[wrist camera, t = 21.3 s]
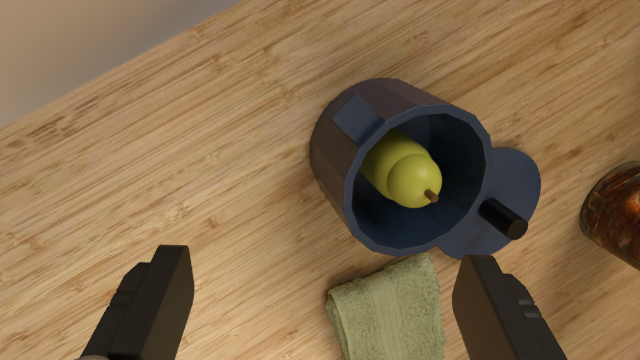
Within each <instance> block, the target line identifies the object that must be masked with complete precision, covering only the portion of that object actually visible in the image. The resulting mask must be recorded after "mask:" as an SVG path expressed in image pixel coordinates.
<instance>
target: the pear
mask: <svg viewBox="0 0 640 360" xmlns="http://www.w3.org/2000/svg"><path fill="white" fill-rule="evenodd" d="M359 171H360V172H361V173H362V174H363V175H364V176H365V177H366V179H367V180H368V181H369V182H370V183H371V184H372V185H373V186H374V187H375V188H376V189H377V190H378V191H379V192H380V193H381V194H382V195H383V196H385V197H387V198H388V199H391V200H394V201H396V202H397V203H399V204H400V205H402V206H405V207H409V208H419V207H423V206H425V205H427V204H429V203H431V202H433V203H435V202H437V201H438V199H439V198H438V196H437V195H438V194H439V192H440V189H441V185H442V176H441V172H440V170H439V168H438V166H437V165H436V163H435V162H434V161H433V160H432V159H431V156H430V154H429V153H428V152H427V150H426V149H425V148H424V147H422V146H421V145H420V144H418V143H417V142H415V141H414V140H413V139H411V138H410V137H408V136H407V135H405V134H404V133H402V132H401V131H400V130H398V129H397V128H395V127H393V128H391V129H389V131H388V132H387V133H386V134H385V135H384V136H383V137H382V138H381V139H380V140H379V141H378V142H377V143H376V144H375V145H374V146H373V147H372V148H371V149H370V150H369V151H368V152H367V153H366V156H365V158H364V160H363V162H362V164H361V166H360V168H359Z"/></svg>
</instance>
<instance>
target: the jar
mask: <svg viewBox="0 0 640 360" xmlns="http://www.w3.org/2000/svg"><path fill="white" fill-rule="evenodd" d="M580 223H581V229H582V231H583V233H584V234H585V236H586V237H588V238H589V239H590V240H592V241H593V242H595V243H596V244H598V245H599V246H601V247H602V248H604V249H606V250H607V251H609V252H610V253H612V254H613V255H615V256H616V257H618V258H620V259H621V260H623V261H624V262H626V263H627V264H629V265H631V266H632V267H634V268H635V269H637V270H638V271H640V161H634V162H629V163H626V164H624V165H621V166H619V167H618V168H616V169H614V170H613V171H611V172H610V173H609V174H607V175H606V176H605V177H604V178H603V179H602V180H601V181H600V182H599V183H598V184H597V185H596V186H595V187H594V189H593V190H592V192H591V193H590V195H589V196H588V198H587V200H586V202H585V204H584V206H583V209H582V213H581V220H580Z"/></svg>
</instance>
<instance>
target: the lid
mask: <svg viewBox="0 0 640 360" xmlns="http://www.w3.org/2000/svg"><path fill="white" fill-rule="evenodd" d="M492 153H493V160H494V165H493V170H492V174H491V178H490V183H489V187H488V191H487V193H486V195H485V197H484V198H483V200H482V202H481V204H480V205H479V207H478V209H477V210H476V212H475V214H474V215H473V217H472V218H471V219H472V220H473V221H474V222H475V223H476V224H477V225H478V226H479V227H480V229H481V231H480V232H479V233H478V234H477V235H476V236H475V237H473V238H472V239H471V240H470V241H469V242H468V243H467V244H466V245H465V246H464V247H463V248H462V249H461V248H460V247H459V246H458V245H457V244H456V243H455V242H454V241H453V240H452V239H451V238H450V239H448V240H446V241H444V242H442V243H441V244H439V245H437V246H438V247H439V248H440V250H441V251H443V252H444V253H445V254H446V255H448V256H450V257H453V258H456V259H460V260H462V258H463V257H464V255H490V254H492V253H495V252H496V251H498V250H500V249H501V248H503V247H504V246H506V245H507V244H508V243H510V242H511V241H512V240H517V239H519V238H521V237H522V236H523V235H524V234H525V233H526V231H527V229H528V221H529V220H530V218H531V216H532V215H533V213H534V211H535V208H536V206H537V203H538V200H539V196H540V190H541V179H540V173H539V170H538V168H537V166H536V164H535V162H534V161H533V160H532V159H531V158H530V157H529V156H528V155H527V154H525V153H523V152H521V151H519V150H517V149H514V148H508V147H497V148H492Z"/></svg>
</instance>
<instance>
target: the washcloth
mask: <svg viewBox="0 0 640 360" xmlns="http://www.w3.org/2000/svg"><path fill="white" fill-rule="evenodd" d="M429 256H430V255H427V254H425V253H418V254H416V255H415V256H411V257H409V258H407V259H405V260H403V261H401V262H398V263H395V264H394V265H389V266H385V268H383V270H382V271H380V272H377V273H375V274H372V275H370V276H368V277H365V278H363V279H362V278H357V279H353V281H352V282H346V284H341V285H339V286H337V285H335V287H334V288H331V289H330V290H329V291H328V300H327V301H326V302H325V308H326V309H327V310H326V311H327V316H328V317H329V320H330V321H331V324H332V326H333V327H334V329H335V332H336V335H337V338H338V341H339V343H340V345H341V347H342V354H343V356H344V359H345V360H442V359H443V357H444V345H445V337H444V335H443V331H444V329H443V328H442V325H443V323H442V317H441V316H442V314H441V310H442V309H441V303H440V302H441V301H439V297H440V291H439V288H440V287H439V285H438V283H437V280H436V277H437V276H436V274H435V269H434V267H433V263H432V261H431V260H430V258H429Z"/></svg>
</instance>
